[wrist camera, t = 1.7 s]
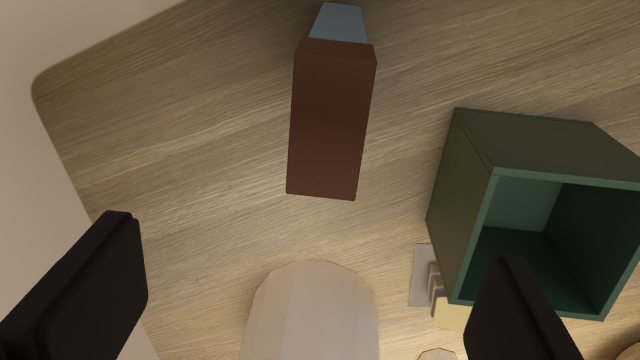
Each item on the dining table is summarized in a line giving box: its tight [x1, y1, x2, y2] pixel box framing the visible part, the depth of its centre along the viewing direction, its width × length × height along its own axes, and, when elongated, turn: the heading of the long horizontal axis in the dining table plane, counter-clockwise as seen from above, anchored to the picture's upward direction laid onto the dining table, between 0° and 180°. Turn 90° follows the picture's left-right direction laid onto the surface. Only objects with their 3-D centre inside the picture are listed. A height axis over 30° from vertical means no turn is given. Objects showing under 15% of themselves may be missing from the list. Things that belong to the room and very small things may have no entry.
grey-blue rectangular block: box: [308, 2, 368, 44], centre depth 29 cm, size 7×3×15 cm, turn 175°
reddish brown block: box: [286, 37, 377, 201], centre depth 21 cm, size 7×4×4 cm, turn 175°
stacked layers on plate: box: [408, 244, 472, 334], centre depth 44 cm, size 10×9×6 cm
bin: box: [425, 107, 640, 322], centre depth 35 cm, size 12×12×12 cm
